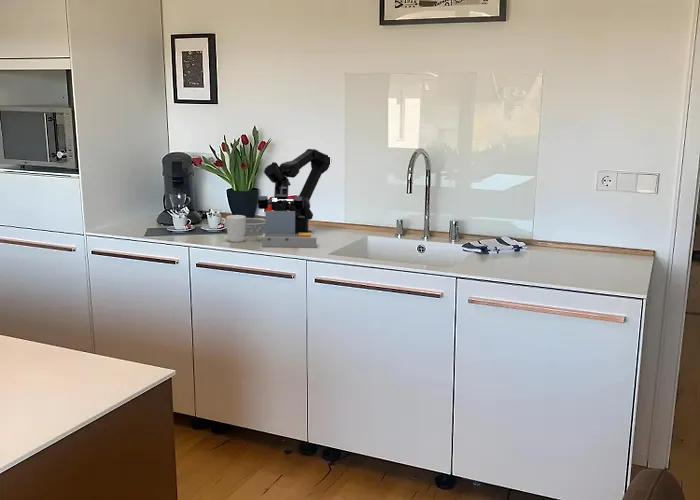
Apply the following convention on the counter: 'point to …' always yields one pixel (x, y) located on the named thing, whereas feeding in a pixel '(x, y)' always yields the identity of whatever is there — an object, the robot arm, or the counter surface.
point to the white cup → (236, 228)
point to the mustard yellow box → (304, 234)
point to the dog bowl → (254, 227)
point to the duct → (288, 241)
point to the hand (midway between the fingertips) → (279, 219)
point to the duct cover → (279, 222)
